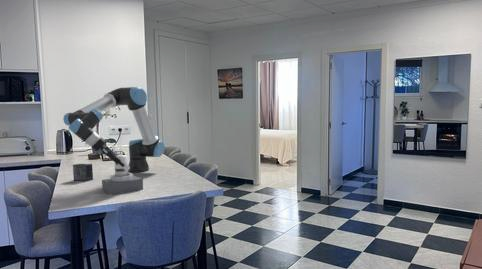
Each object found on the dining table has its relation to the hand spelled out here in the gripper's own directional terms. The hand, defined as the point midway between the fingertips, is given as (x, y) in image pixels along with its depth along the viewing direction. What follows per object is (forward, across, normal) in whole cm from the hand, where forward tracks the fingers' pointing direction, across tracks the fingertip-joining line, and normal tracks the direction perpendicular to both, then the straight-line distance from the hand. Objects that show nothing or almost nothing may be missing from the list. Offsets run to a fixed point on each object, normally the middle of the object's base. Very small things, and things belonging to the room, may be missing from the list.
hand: (128, 168), depth 196 cm
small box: (-10, -40, -27) cm, 49 cm away
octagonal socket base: (+6, 0, -11) cm, 12 cm away
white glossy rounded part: (0, 0, -5) cm, 5 cm away
